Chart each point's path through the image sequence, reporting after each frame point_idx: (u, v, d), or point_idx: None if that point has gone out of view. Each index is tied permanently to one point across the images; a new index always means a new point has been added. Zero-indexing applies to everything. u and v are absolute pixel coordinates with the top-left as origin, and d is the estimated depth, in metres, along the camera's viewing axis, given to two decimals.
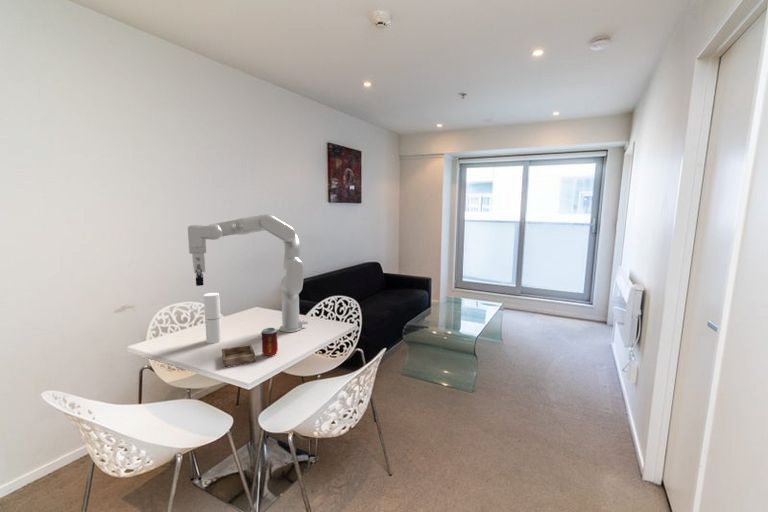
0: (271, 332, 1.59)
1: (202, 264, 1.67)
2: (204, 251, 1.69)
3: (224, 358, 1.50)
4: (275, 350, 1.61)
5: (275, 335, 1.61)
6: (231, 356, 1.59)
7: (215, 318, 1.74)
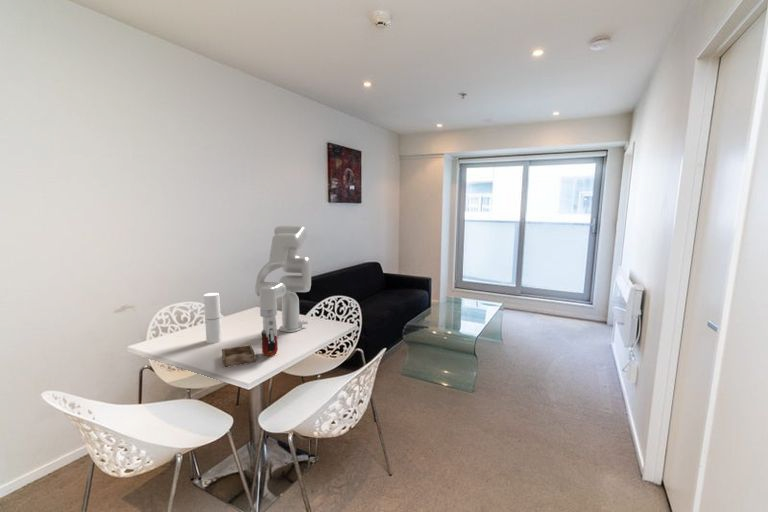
0: None
1: (274, 328, 1.58)
2: (276, 313, 1.60)
3: (224, 358, 1.50)
4: (275, 350, 1.61)
5: None
6: (231, 356, 1.59)
7: (215, 318, 1.74)
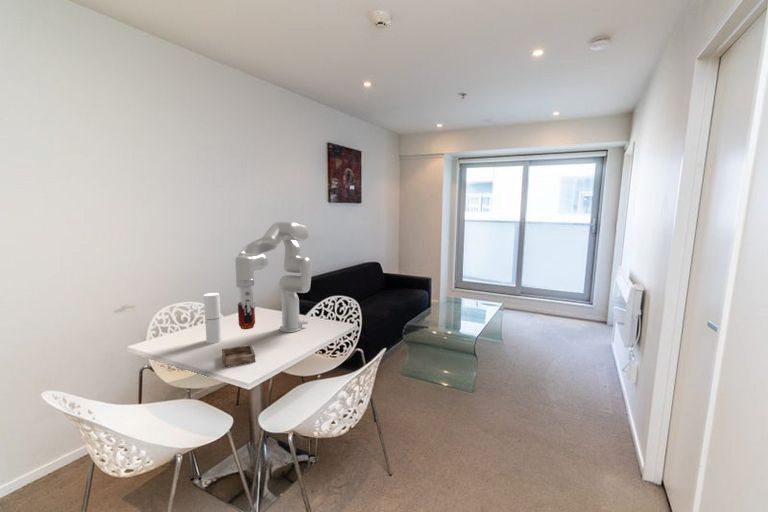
0: None
1: (251, 299, 1.52)
2: (252, 284, 1.54)
3: (224, 358, 1.50)
4: (252, 323, 1.55)
5: None
6: (231, 356, 1.59)
7: (215, 318, 1.74)
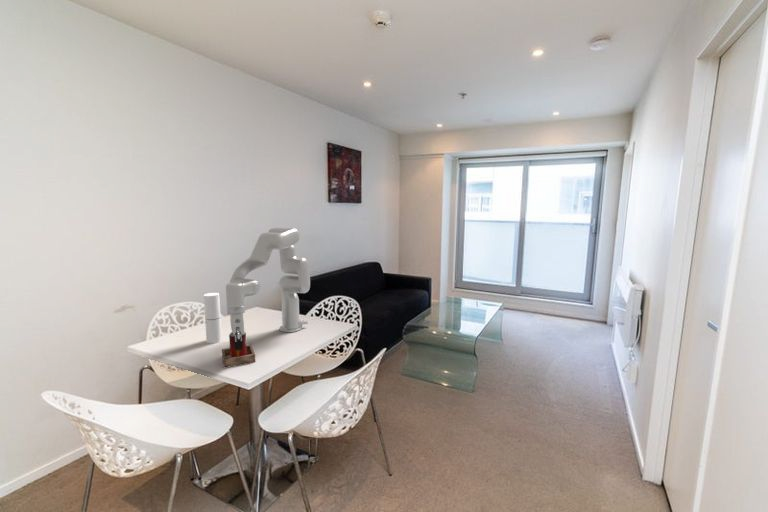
0: None
1: (241, 326, 1.52)
2: (243, 311, 1.54)
3: (224, 358, 1.50)
4: (243, 353, 1.56)
5: (243, 338, 1.55)
6: None
7: (215, 318, 1.74)
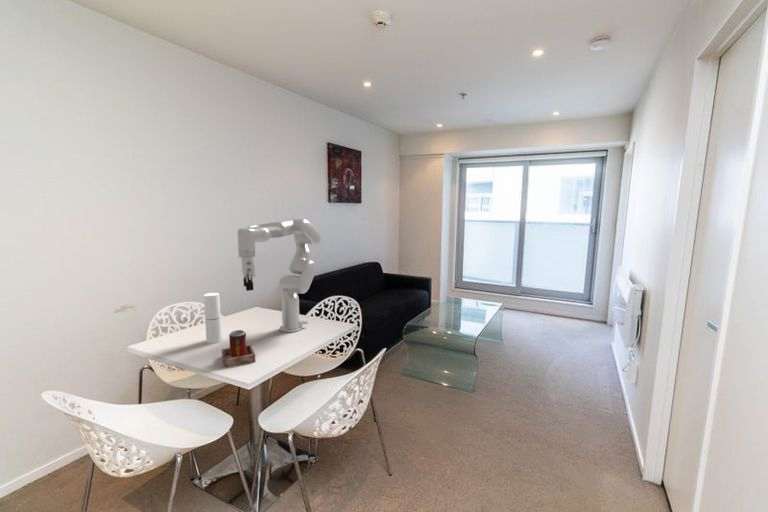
0: (239, 335, 1.54)
1: (252, 268, 1.62)
2: (254, 255, 1.64)
3: (224, 358, 1.50)
4: (243, 353, 1.56)
5: (243, 338, 1.55)
6: None
7: (215, 318, 1.74)
